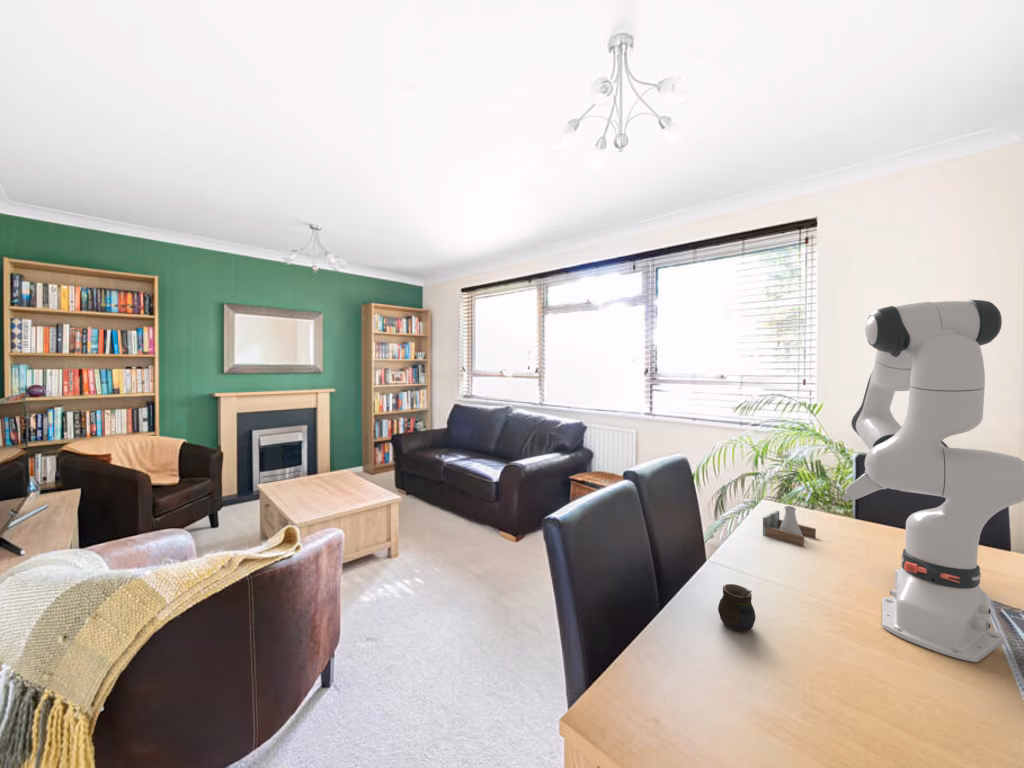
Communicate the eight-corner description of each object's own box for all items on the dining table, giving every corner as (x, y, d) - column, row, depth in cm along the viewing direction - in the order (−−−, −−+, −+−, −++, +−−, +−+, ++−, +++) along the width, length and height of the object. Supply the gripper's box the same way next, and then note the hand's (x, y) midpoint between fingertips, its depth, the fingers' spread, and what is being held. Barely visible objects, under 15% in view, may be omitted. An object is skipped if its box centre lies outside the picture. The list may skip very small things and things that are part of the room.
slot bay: (802, 546, 131) (803, 527, 131) (762, 534, 140) (763, 517, 140) (815, 537, 138) (815, 519, 138) (776, 527, 147) (776, 510, 147)
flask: (772, 533, 141) (772, 505, 141) (787, 531, 144) (788, 503, 143) (792, 541, 134) (792, 511, 134) (808, 539, 137) (808, 509, 136)
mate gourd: (734, 613, 94) (735, 570, 94) (764, 632, 87) (766, 587, 87) (710, 619, 92) (711, 575, 91) (739, 640, 85) (741, 593, 84)
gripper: (885, 461, 129) (845, 486, 137) (867, 468, 117) (825, 494, 124) (904, 478, 125) (862, 502, 133) (888, 487, 113) (843, 513, 121)
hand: (844, 498), depth 129 cm, fingers closed
